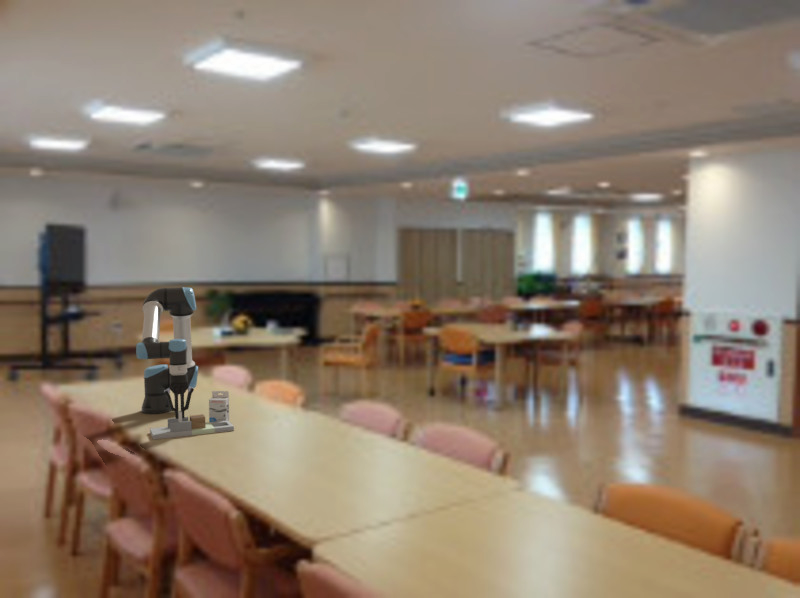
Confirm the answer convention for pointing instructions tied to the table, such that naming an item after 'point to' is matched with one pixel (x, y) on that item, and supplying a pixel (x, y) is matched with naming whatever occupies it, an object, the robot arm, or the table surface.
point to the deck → (188, 428)
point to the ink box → (219, 406)
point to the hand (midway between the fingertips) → (180, 425)
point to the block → (197, 421)
